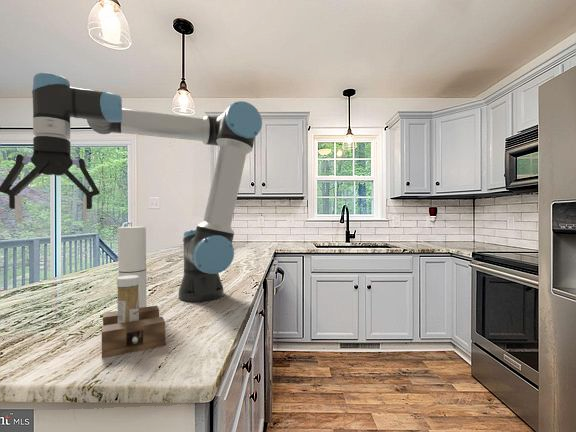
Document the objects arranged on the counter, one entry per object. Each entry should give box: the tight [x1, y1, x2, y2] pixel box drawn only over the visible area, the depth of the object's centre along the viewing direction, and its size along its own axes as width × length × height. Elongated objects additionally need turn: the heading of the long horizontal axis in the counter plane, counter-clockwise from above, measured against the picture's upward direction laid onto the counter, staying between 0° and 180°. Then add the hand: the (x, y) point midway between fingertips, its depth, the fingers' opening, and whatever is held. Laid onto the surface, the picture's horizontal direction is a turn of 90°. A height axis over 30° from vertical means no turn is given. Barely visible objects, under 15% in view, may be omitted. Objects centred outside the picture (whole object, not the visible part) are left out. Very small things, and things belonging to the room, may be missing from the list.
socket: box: [101, 305, 166, 358], centre depth 72 cm, size 12×15×5 cm
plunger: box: [128, 331, 140, 344], centre depth 67 cm, size 2×6×2 cm, turn 29°
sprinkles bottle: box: [116, 275, 139, 338], centre depth 72 cm, size 5×5×14 cm
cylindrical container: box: [117, 226, 148, 308], centre depth 90 cm, size 7×7×25 cm
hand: (53, 222), depth 79 cm, fingers open, 13 cm apart
